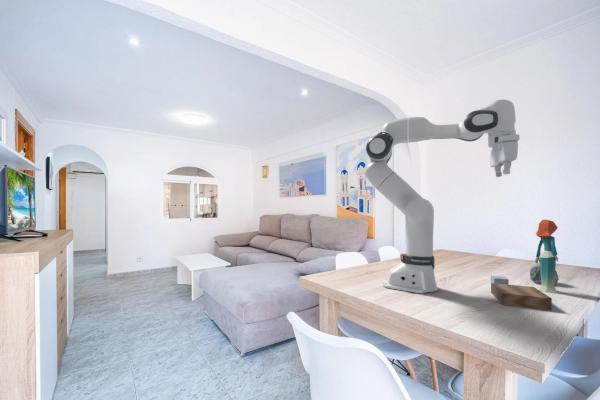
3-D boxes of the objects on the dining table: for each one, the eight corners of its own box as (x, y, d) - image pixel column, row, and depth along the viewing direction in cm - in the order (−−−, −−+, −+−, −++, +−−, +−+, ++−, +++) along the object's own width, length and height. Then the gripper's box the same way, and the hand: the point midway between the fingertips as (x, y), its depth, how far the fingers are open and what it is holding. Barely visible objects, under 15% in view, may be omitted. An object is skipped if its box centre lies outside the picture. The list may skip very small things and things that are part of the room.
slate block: (494, 289, 113) (494, 278, 114) (490, 286, 118) (490, 275, 118) (508, 291, 112) (508, 279, 112) (504, 288, 116) (504, 276, 116)
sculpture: (568, 295, 106) (566, 220, 106) (548, 294, 107) (547, 220, 108) (545, 286, 118) (544, 218, 119) (528, 285, 120) (526, 218, 120)
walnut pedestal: (502, 304, 96) (502, 293, 96) (491, 292, 109) (490, 283, 109) (551, 310, 91) (551, 298, 91) (533, 297, 104) (533, 286, 104)
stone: (548, 263, 120) (542, 258, 128) (526, 275, 124) (522, 270, 132) (567, 281, 116) (560, 275, 125) (544, 293, 120) (539, 287, 129)
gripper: (485, 147, 117) (485, 178, 117) (500, 135, 99) (501, 173, 98) (502, 146, 115) (503, 177, 115) (521, 134, 96) (522, 172, 96)
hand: (502, 175), depth 106 cm, fingers open, 8 cm apart
